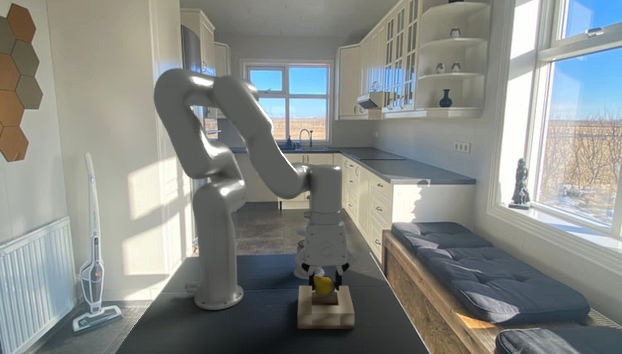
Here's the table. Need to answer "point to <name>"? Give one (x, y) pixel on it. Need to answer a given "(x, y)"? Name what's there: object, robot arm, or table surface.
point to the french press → (299, 270)
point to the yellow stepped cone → (324, 286)
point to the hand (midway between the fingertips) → (325, 287)
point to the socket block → (325, 309)
